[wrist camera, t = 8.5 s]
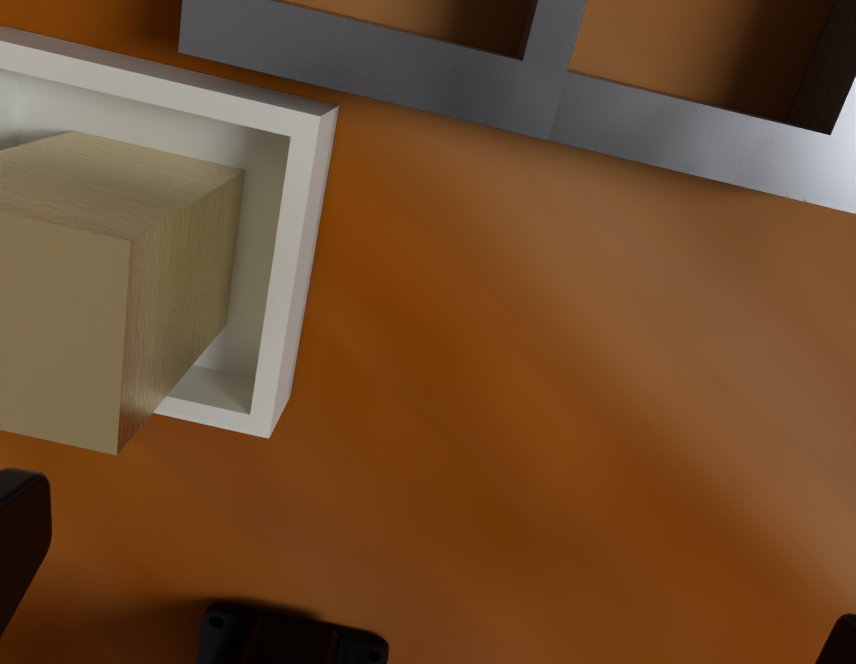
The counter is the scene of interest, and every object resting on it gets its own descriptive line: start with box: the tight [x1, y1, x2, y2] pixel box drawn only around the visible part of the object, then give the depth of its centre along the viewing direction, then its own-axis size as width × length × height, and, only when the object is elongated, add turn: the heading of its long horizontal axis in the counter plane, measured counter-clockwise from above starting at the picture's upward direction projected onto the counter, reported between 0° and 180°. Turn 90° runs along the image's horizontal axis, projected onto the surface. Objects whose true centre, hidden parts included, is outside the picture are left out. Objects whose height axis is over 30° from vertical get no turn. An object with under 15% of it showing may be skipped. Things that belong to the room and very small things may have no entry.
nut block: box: [0, 131, 245, 455], centre depth 17 cm, size 4×4×7 cm
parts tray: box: [0, 27, 339, 439], centre depth 20 cm, size 9×9×2 cm
